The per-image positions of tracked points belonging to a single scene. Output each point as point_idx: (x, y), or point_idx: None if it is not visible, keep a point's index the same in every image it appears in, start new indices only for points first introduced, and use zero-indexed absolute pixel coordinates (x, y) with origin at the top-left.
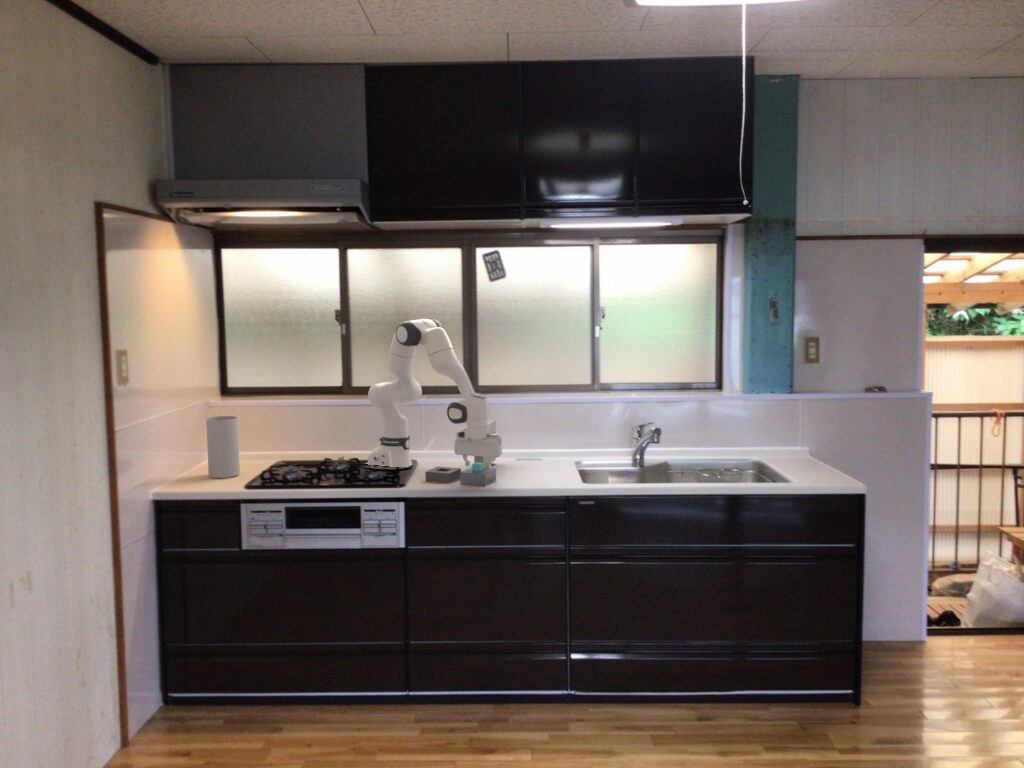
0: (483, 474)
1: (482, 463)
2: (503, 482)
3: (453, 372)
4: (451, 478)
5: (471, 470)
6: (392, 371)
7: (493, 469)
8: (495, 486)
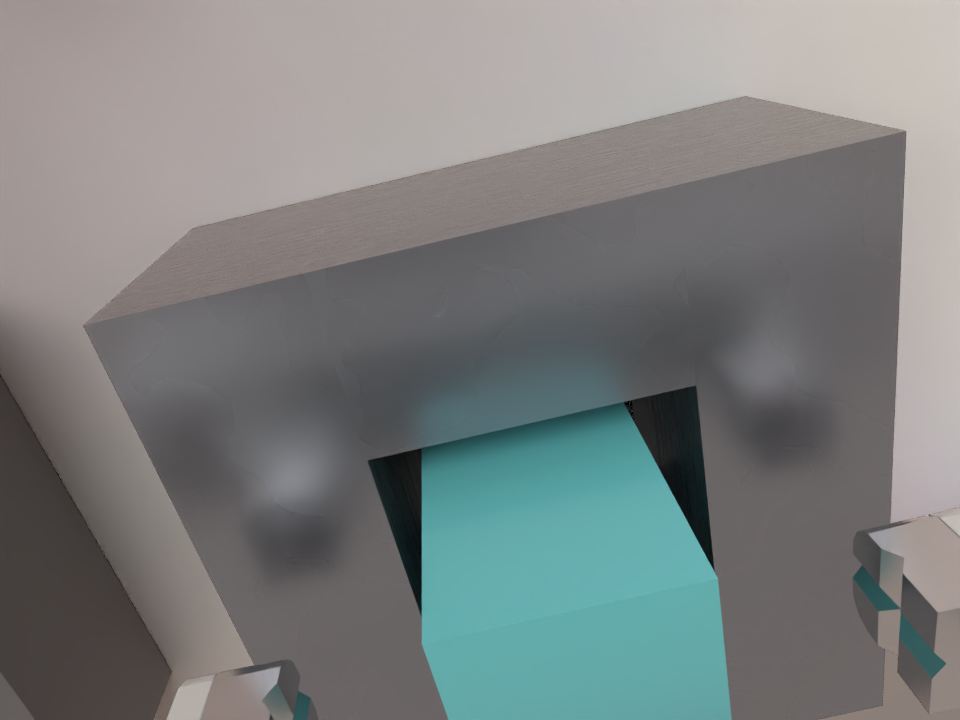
0: (839, 704)
1: (721, 641)
2: (949, 137)
3: None
4: (118, 670)
5: (421, 631)
6: None
7: (870, 250)
8: (916, 454)
